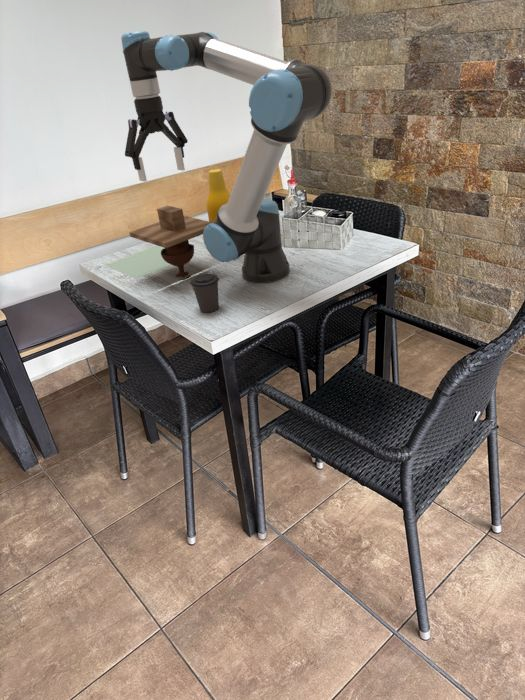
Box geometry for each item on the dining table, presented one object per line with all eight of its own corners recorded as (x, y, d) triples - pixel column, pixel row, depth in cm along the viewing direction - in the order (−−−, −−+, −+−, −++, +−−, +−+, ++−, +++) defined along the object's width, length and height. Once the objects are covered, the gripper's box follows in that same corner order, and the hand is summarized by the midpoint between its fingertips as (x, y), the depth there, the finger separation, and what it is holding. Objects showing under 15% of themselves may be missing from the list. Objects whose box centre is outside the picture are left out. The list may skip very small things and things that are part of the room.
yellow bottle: (228, 248, 192) (216, 166, 177) (246, 253, 186) (234, 168, 171) (209, 257, 187) (195, 173, 172) (226, 261, 181) (213, 175, 166)
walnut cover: (218, 228, 165) (214, 204, 161) (165, 248, 154) (160, 223, 150) (181, 219, 178) (177, 196, 174) (130, 236, 167) (124, 213, 163)
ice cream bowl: (194, 283, 168) (185, 237, 160) (161, 283, 170) (151, 239, 163) (203, 270, 177) (195, 226, 169) (172, 270, 179) (163, 227, 172)
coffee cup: (204, 318, 145) (198, 285, 140) (190, 309, 151) (183, 277, 146) (229, 308, 149) (224, 276, 144) (214, 300, 155) (208, 268, 150)
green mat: (189, 259, 187) (189, 257, 186) (136, 280, 175) (136, 278, 174) (155, 248, 202) (155, 246, 201) (104, 267, 189) (104, 265, 189)
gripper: (176, 90, 155) (188, 164, 166) (100, 104, 142) (119, 184, 153) (191, 89, 150) (203, 166, 161) (114, 104, 137) (133, 186, 148)
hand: (162, 175), depth 157 cm, fingers open, 13 cm apart
